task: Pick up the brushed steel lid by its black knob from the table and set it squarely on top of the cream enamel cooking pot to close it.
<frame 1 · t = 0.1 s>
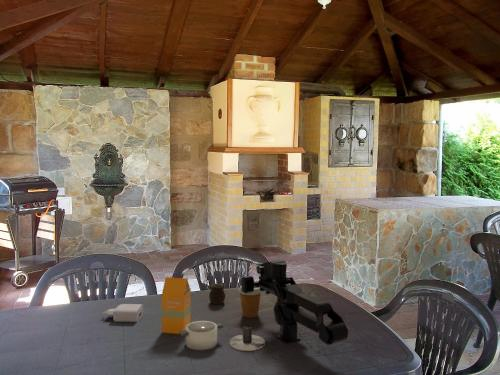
hand: (252, 276, 185), 17 cm above the table, tool horizontal, fingers open, 9 cm apart
mate gourd: (217, 303, 203), on the table
orange juice: (176, 329, 173), on the table
charger: (121, 318, 184), on the table
disposable coffee cup: (250, 315, 188), on the table
lid: (247, 344, 161), on the table
pot: (201, 343, 161), on the table
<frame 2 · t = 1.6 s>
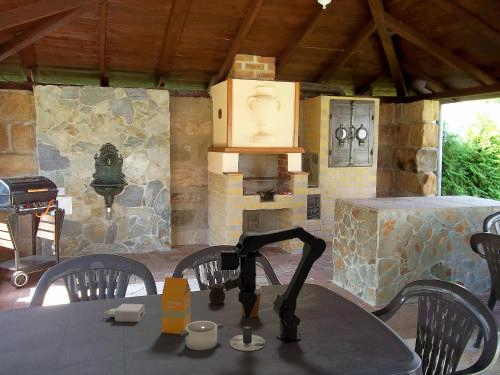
hand: (247, 312, 160), 11 cm above the table, tool pointing down, fingers open, 9 cm apart
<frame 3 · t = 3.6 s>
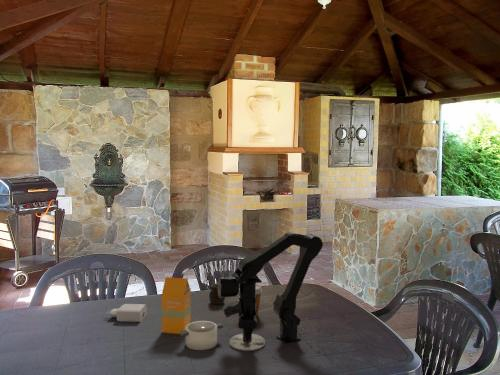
hand: (247, 338, 161), 2 cm above the table, tool pointing down, fingers closed on lid, 3 cm apart
lid: (247, 343, 161), on the table, touching gripper
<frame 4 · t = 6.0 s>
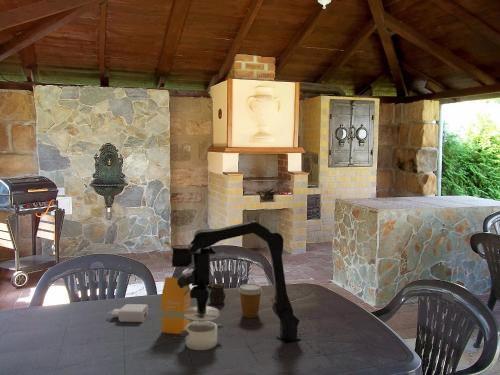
hand: (201, 309, 159), 12 cm above the table, tool pointing down, fingers closed on lid, 3 cm apart
lid: (201, 314, 160), point 10 cm above the table, touching gripper
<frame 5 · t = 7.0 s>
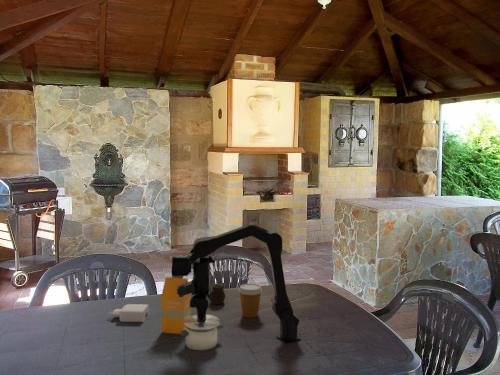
hand: (201, 318, 160), 9 cm above the table, tool pointing down, fingers closed on lid, 3 cm apart
lid: (201, 323, 160), point 7 cm above the table, touching gripper
when the fingers open (9 cm above the table, at t = 7.1 s): lid drops 1 cm, resting on pot.
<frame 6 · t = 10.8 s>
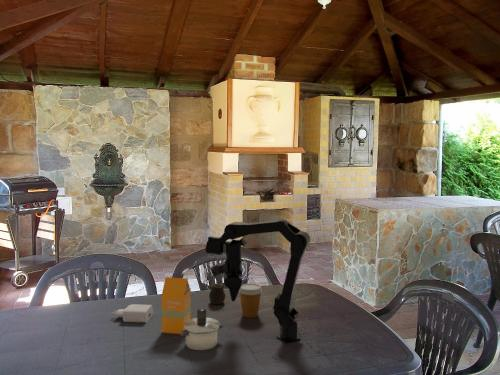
hand: (233, 297, 170), 13 cm above the table, tool pointing down, fingers open, 9 cm apart
charger: (131, 319, 184), on the table
lid: (201, 326, 160), point 6 cm above the table, touching pot
everything else where it was.
at the end: lid 0.0 cm off-centre on the pot, point 6.0 cm above the pot's base; lid tilted 0°; the gripper is holding nothing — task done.
